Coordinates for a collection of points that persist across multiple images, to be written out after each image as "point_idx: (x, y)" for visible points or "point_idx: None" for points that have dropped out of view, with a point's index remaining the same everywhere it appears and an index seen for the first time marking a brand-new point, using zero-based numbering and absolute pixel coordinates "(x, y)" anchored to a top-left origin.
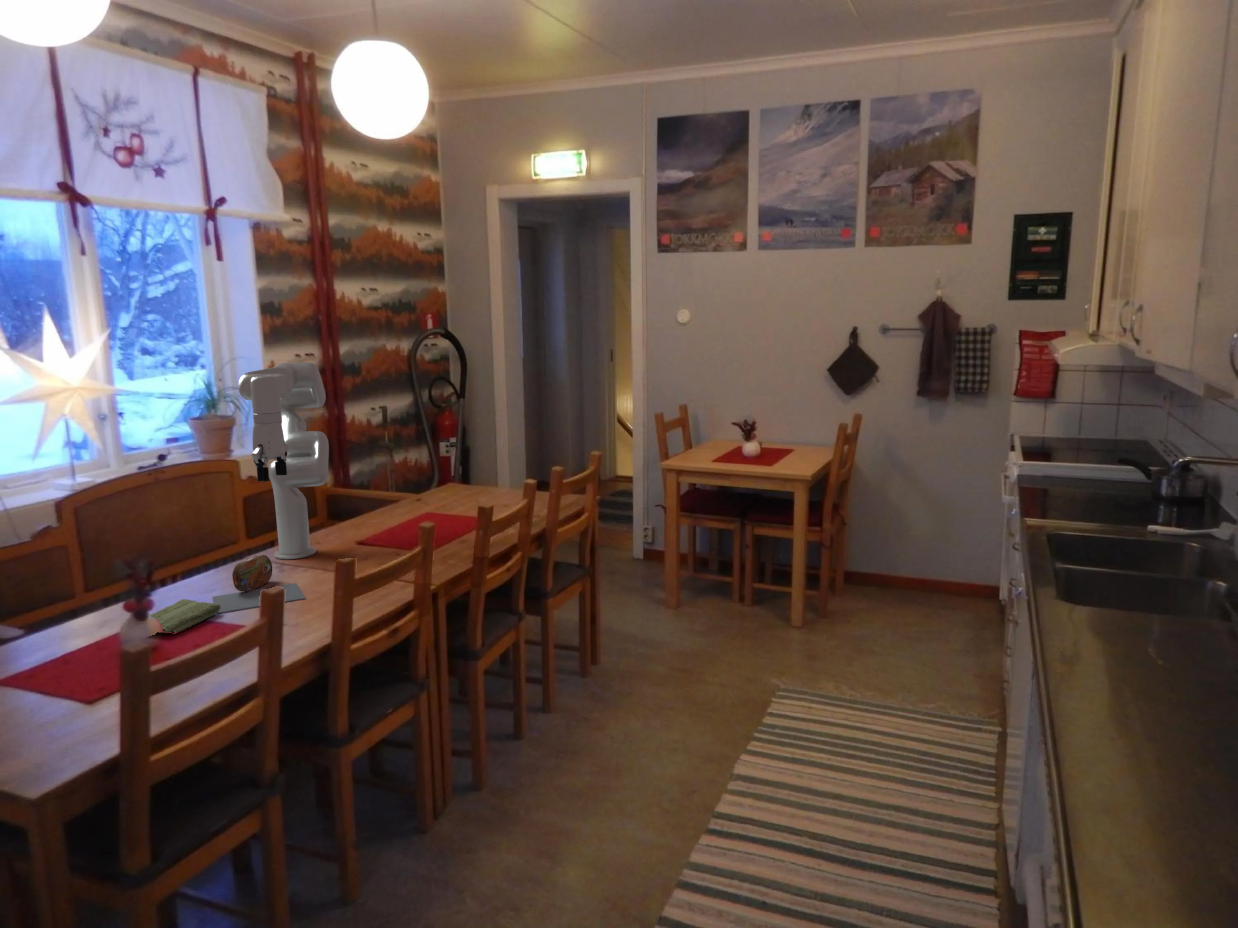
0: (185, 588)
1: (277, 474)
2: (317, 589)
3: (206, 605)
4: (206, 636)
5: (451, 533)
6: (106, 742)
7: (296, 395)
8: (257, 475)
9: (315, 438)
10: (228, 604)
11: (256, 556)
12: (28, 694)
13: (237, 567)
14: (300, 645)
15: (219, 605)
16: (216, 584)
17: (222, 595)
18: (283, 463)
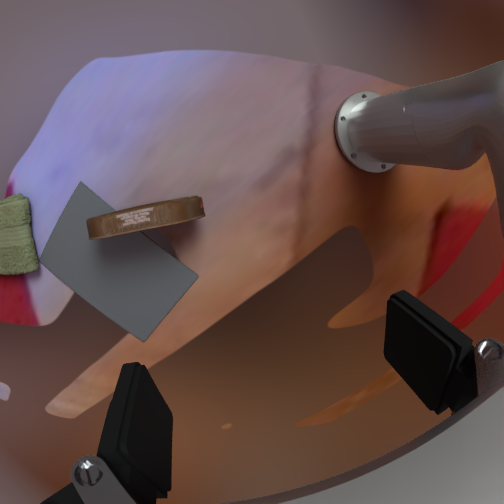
0: (109, 83)
1: (388, 309)
2: (188, 329)
3: (19, 261)
4: (4, 308)
5: (469, 311)
6: None
7: None
8: (115, 391)
9: None
10: (65, 246)
11: (161, 213)
12: None
13: (91, 228)
14: (55, 406)
15: (35, 269)
16: (144, 117)
17: (90, 194)
18: (429, 403)
